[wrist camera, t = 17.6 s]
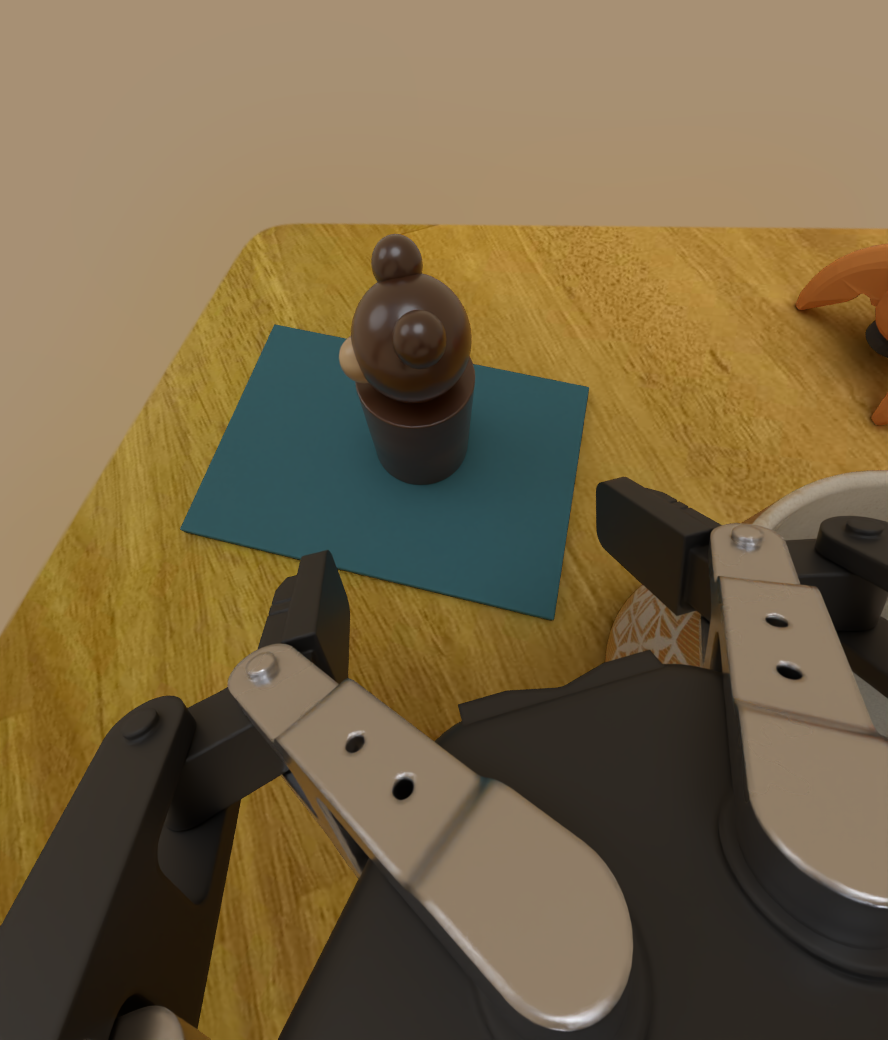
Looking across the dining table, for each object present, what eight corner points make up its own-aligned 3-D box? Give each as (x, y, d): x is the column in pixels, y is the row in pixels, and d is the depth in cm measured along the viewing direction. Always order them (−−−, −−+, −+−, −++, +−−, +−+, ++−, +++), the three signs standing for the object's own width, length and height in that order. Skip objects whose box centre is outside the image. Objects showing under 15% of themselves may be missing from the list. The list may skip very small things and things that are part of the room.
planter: (582, 541, 22) (694, 446, 12) (823, 567, 22) (1139, 492, 12) (579, 815, 18) (741, 1001, 8) (874, 855, 18) (1411, 1099, 8)
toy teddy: (381, 496, 23) (329, 361, 12) (362, 415, 24) (303, 237, 14) (478, 473, 23) (507, 325, 13) (454, 395, 25) (462, 208, 14)
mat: (184, 532, 22) (179, 529, 22) (277, 329, 27) (274, 323, 26) (551, 620, 21) (554, 619, 20) (586, 391, 25) (589, 386, 25)
